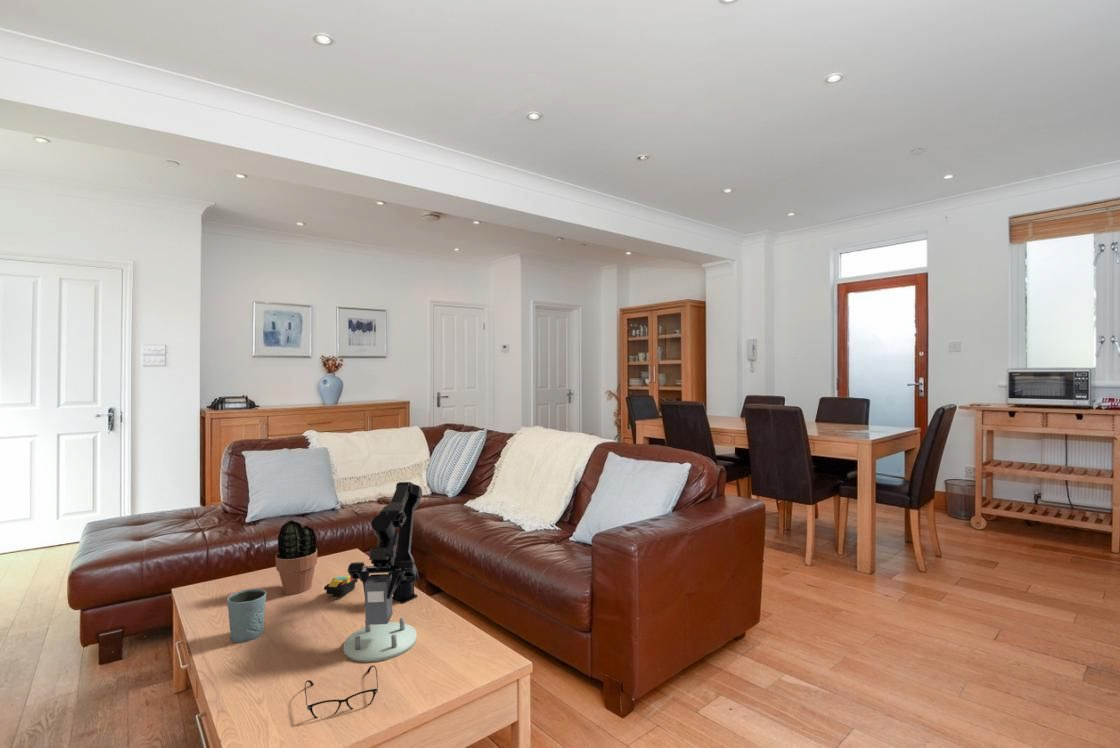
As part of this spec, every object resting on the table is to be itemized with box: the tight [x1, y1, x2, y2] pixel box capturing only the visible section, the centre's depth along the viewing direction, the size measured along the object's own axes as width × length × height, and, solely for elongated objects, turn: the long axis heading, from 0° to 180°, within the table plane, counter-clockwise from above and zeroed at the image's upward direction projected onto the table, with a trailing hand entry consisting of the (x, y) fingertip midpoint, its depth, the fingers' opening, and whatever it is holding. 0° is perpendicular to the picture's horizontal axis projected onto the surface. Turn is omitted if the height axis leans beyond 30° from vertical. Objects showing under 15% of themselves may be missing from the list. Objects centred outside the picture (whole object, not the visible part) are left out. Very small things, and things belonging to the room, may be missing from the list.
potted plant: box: [275, 519, 318, 595], centre depth 197 cm, size 14×14×25 cm
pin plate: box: [343, 617, 418, 663], centre depth 159 cm, size 20×20×4 cm
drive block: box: [364, 573, 393, 625], centre depth 158 cm, size 6×6×12 cm
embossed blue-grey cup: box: [226, 588, 267, 643], centre depth 164 cm, size 10×10×12 cm
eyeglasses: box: [304, 665, 379, 719], centre depth 134 cm, size 16×16×4 cm
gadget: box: [323, 574, 359, 598], centre depth 194 cm, size 6×13×6 cm, turn 171°
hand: (377, 598), depth 157 cm, fingers closed on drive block, 6 cm apart
